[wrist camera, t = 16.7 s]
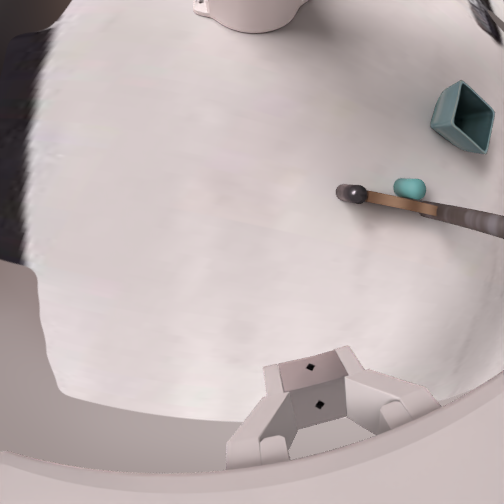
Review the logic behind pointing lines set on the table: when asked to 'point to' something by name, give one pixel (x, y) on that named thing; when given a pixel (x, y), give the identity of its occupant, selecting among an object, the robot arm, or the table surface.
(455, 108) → the flower pot
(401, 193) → the post
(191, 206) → the table surface
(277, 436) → the robot arm
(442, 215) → the brown board with post
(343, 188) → the hinge post
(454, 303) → the table surface
